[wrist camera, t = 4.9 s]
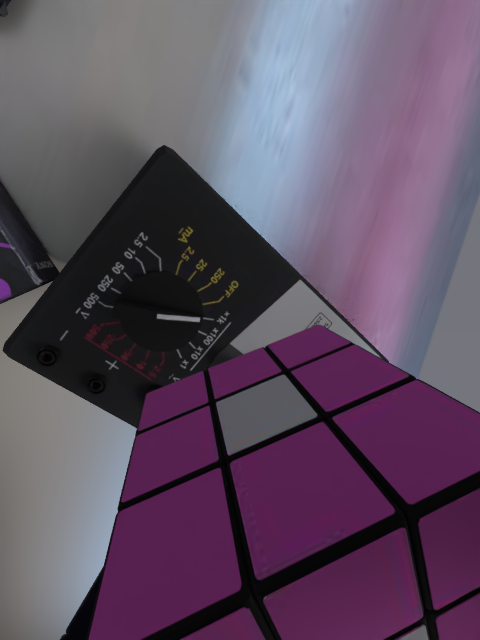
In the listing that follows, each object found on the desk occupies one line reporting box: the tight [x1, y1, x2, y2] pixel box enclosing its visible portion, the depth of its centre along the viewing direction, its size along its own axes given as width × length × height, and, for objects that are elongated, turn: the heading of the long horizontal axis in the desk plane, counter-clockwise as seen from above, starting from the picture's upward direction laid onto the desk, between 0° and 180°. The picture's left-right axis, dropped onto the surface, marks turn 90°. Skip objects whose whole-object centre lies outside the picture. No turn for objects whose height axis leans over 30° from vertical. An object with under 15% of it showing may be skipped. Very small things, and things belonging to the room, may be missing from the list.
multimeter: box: [3, 145, 389, 428], centre depth 17 cm, size 13×19×5 cm
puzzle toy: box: [86, 325, 480, 640], centre depth 6 cm, size 6×6×6 cm
